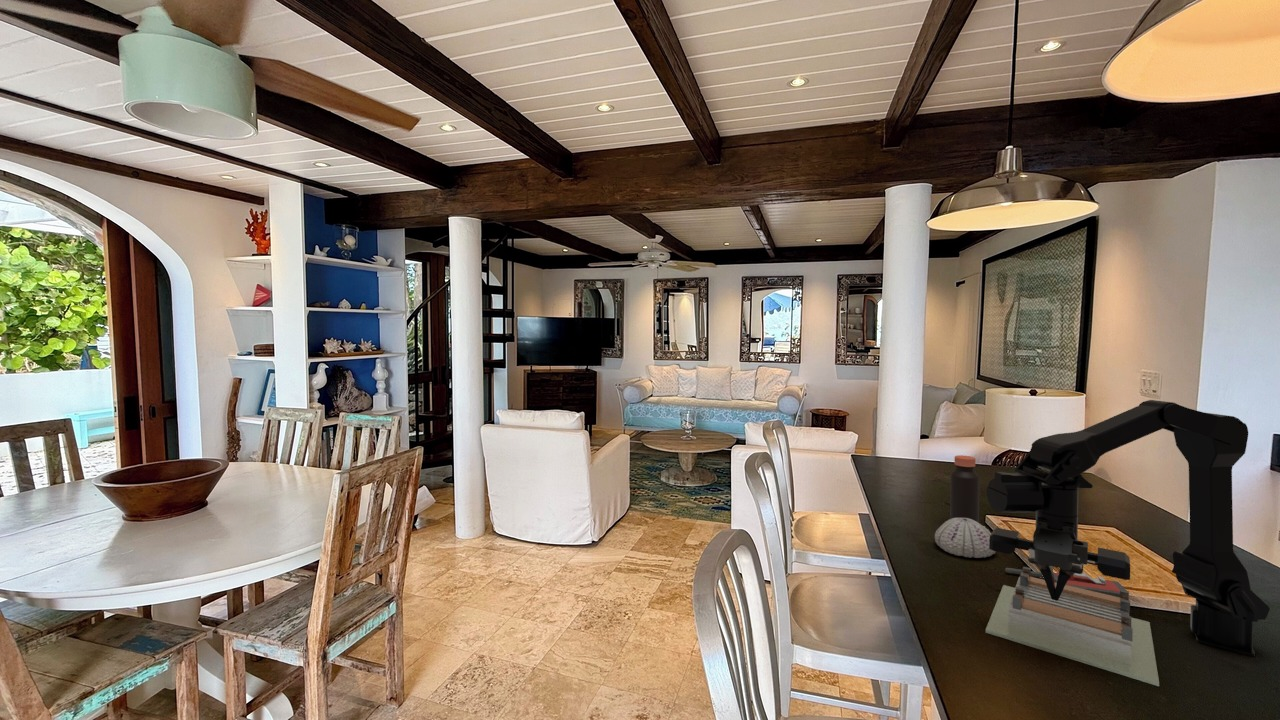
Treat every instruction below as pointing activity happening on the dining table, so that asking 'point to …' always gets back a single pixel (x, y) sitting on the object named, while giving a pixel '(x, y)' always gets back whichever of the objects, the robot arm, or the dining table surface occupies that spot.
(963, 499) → the bottle
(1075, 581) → the walkie-talkie
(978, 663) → the dining table surface
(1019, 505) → the robot arm
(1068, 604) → the heat sink board
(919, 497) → the dining table surface
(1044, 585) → the strap
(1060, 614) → the strap
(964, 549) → the sea urchin shell
